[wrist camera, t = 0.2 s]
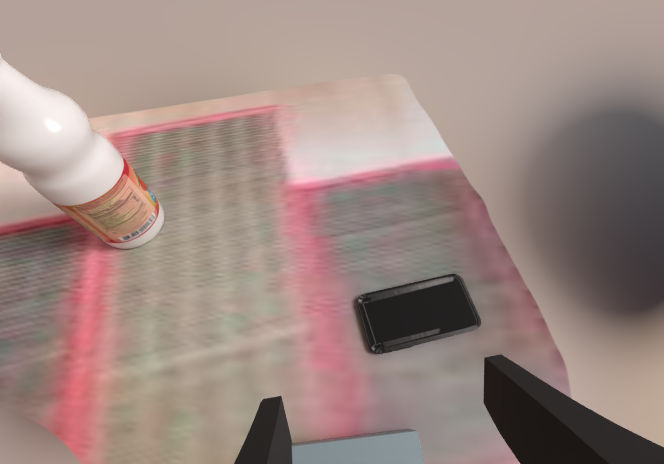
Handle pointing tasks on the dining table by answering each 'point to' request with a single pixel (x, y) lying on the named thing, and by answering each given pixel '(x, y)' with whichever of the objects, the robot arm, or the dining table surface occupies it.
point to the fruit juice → (73, 163)
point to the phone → (417, 313)
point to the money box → (362, 449)
